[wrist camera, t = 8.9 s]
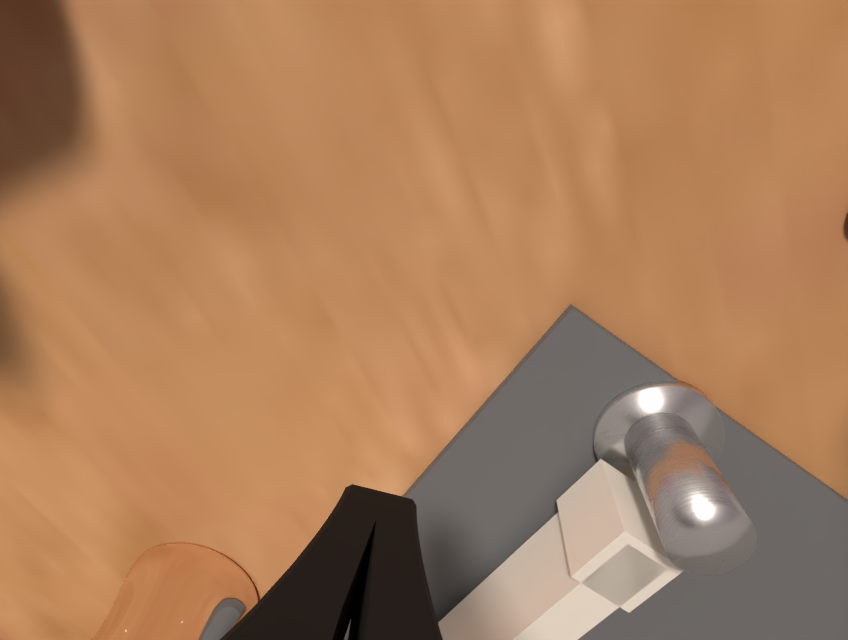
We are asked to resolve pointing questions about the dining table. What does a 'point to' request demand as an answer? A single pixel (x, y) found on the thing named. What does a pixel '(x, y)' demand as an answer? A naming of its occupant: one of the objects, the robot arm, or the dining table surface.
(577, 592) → the gate
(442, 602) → the mat
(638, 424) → the post
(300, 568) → the robot arm
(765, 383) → the dining table surface
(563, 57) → the dining table surface
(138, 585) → the beer glass
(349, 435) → the dining table surface
